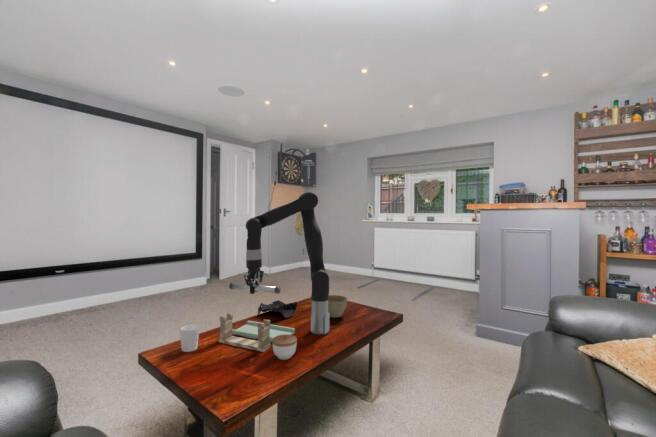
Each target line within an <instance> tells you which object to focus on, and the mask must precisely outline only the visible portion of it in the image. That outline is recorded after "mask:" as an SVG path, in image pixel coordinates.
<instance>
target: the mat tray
mask: <svg viewBox="0 0 656 437" xmlns="http://www.w3.org/2000/svg"><path fill="white" fill-rule="evenodd" d="M246 322H247V323H246V324H245V325H244V324H243V325H242V326H240V327H239V328H236V329H234V328H232V335H234V336H238V337H242V338H247V339H252V340H258V329H257V323H261V322H260V321H252V320H247V321H246ZM295 333H296V328H295V327H294V328H293V327H288V326H283V325H282V326H281V325H276V324H272V323H270V343H272V340H273V338H274V337H276V336H278V335H284V334H288V335H294V334H295Z"/></svg>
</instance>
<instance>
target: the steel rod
mask: <svg viewBox="0 0 656 437" xmlns="http://www.w3.org/2000/svg"><path fill="white" fill-rule="evenodd" d="M254 286H255V288H254V289H255V291H259V293H271V294H276V295H279V294H281V287H280V286H278V285H277V286H271V285H270V286H269V285H260V284H259V285H254ZM228 287H229V289H230V290H238V291H249V292H250V286H247V284H245V283H236V282H230V283H229V286H228Z"/></svg>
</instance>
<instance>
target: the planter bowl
mask: <svg viewBox="0 0 656 437" xmlns="http://www.w3.org/2000/svg"><path fill="white" fill-rule="evenodd" d="M347 303H348V297H346V296H344V295H338V294H330V295H329V296H328V313H329V314H330V316H329V318H333V319H334V318H340V317H342V316H343V313H344V312H345V310H346V308H347Z"/></svg>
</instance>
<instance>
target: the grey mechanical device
mask: <svg viewBox="0 0 656 437" xmlns="http://www.w3.org/2000/svg"><path fill="white" fill-rule="evenodd" d="M297 307H298V302H297V301H294V302H290V303H285V302H282V301H281V300H275V301H272V303H269V304H266V303H264V302H261V303H260V304H259V306H258V308H257V316H260V314H261V313H266V312H274V313H276V312H281V315H282V316H283V317H284V318H291V317H292V316H293V315H295V313H296V312H297Z"/></svg>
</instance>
